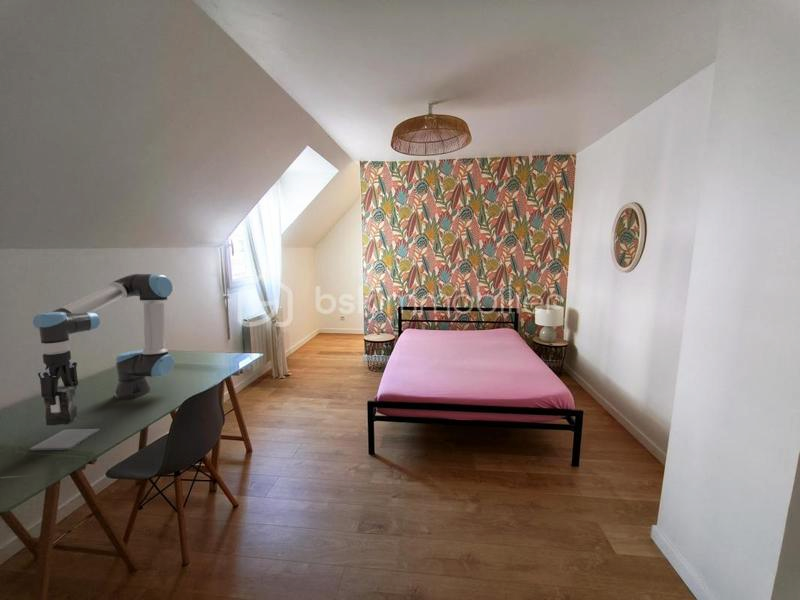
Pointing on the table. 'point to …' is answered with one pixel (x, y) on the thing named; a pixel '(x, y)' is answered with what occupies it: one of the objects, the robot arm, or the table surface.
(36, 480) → the table surface
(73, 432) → the slate pad
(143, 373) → the robot arm
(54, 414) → the stone block
